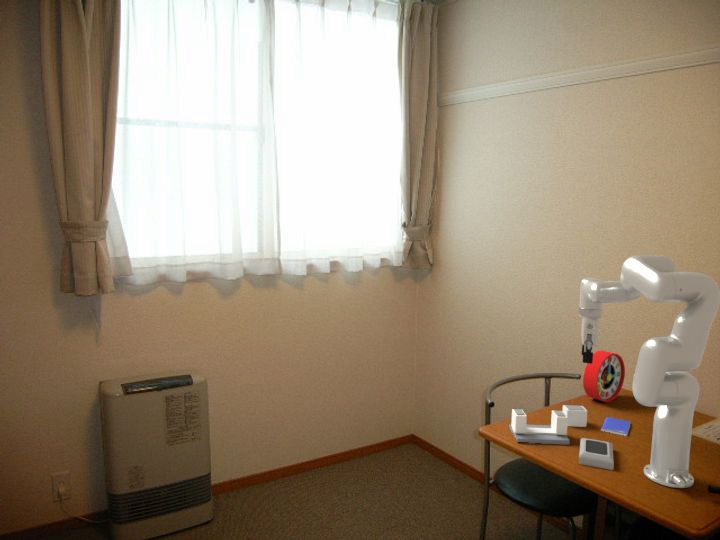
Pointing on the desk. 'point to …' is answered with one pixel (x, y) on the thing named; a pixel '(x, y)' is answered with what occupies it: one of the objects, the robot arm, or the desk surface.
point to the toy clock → (604, 376)
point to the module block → (575, 415)
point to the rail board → (540, 429)
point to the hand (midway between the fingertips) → (586, 359)
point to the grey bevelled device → (596, 453)
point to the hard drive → (616, 426)
